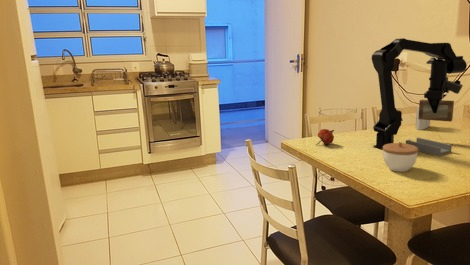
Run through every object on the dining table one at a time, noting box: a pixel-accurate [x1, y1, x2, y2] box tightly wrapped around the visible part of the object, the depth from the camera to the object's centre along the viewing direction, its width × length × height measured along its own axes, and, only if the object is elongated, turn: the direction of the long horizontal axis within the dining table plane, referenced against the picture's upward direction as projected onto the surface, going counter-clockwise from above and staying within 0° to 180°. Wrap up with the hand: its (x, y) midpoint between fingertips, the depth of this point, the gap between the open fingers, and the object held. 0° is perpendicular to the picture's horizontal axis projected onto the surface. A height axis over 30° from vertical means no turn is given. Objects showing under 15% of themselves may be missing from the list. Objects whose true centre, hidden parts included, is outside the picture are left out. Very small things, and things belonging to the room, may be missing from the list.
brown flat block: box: [418, 99, 455, 122], centre depth 143 cm, size 3×12×8 cm, turn 51°
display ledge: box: [405, 137, 453, 157], centre depth 136 cm, size 7×14×3 cm, turn 26°
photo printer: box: [415, 105, 431, 131], centre depth 168 cm, size 10×4×12 cm, turn 134°
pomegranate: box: [315, 128, 335, 146], centre depth 151 cm, size 7×7×10 cm
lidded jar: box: [382, 141, 419, 173], centre depth 117 cm, size 11×11×9 cm
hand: (435, 112), depth 143 cm, fingers closed on brown flat block, 2 cm apart
